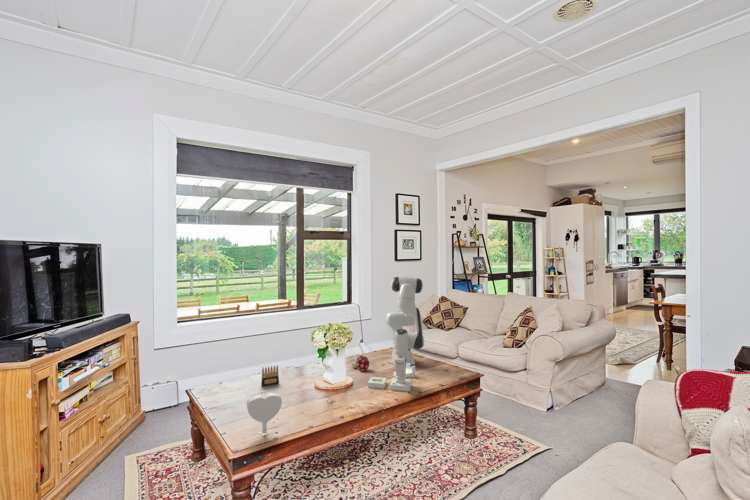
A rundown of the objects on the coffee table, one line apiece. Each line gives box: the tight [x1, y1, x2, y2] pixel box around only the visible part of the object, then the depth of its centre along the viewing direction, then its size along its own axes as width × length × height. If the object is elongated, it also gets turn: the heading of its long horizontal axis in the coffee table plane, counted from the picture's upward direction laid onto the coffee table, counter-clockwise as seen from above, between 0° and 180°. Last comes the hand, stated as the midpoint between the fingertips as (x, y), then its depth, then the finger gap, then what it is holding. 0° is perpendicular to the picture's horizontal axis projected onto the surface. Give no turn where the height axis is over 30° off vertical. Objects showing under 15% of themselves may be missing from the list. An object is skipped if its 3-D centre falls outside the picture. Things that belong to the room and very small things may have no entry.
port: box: [389, 377, 413, 394], centre depth 233 cm, size 12×12×5 cm
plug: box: [396, 369, 407, 384], centre depth 233 cm, size 3×5×11 cm, turn 79°
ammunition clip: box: [260, 364, 280, 387], centre depth 238 cm, size 11×2×12 cm, turn 118°
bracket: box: [392, 363, 416, 379], centre depth 253 cm, size 13×7×8 cm, turn 120°
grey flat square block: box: [367, 376, 387, 390], centre depth 236 cm, size 10×10×4 cm
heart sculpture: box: [246, 392, 283, 434], centre depth 178 cm, size 16×5×18 cm, turn 116°
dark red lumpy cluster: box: [351, 355, 370, 373], centre depth 268 cm, size 11×11×15 cm
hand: (401, 378), depth 233 cm, fingers closed on plug, 3 cm apart
